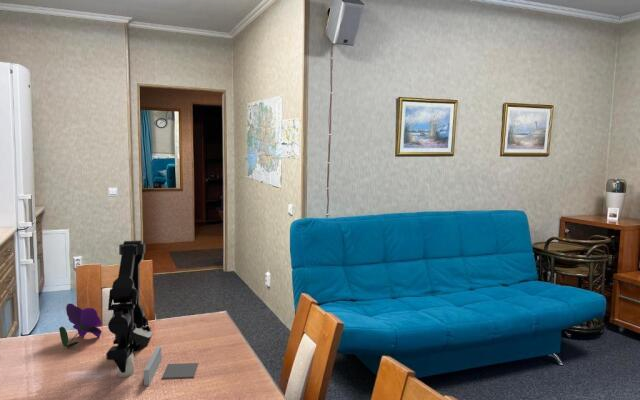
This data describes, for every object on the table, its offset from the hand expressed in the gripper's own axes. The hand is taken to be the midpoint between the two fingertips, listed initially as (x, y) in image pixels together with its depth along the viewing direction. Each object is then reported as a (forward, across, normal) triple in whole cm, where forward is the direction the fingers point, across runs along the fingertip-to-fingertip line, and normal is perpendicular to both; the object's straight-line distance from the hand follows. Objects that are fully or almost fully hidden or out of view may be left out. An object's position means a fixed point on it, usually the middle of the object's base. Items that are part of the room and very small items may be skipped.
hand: (125, 368), depth 162 cm
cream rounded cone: (+2, 0, 0) cm, 2 cm away
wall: (+2, 0, -9) cm, 9 cm away
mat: (+2, 0, -18) cm, 18 cm away
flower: (+2, +27, +24) cm, 36 cm away
